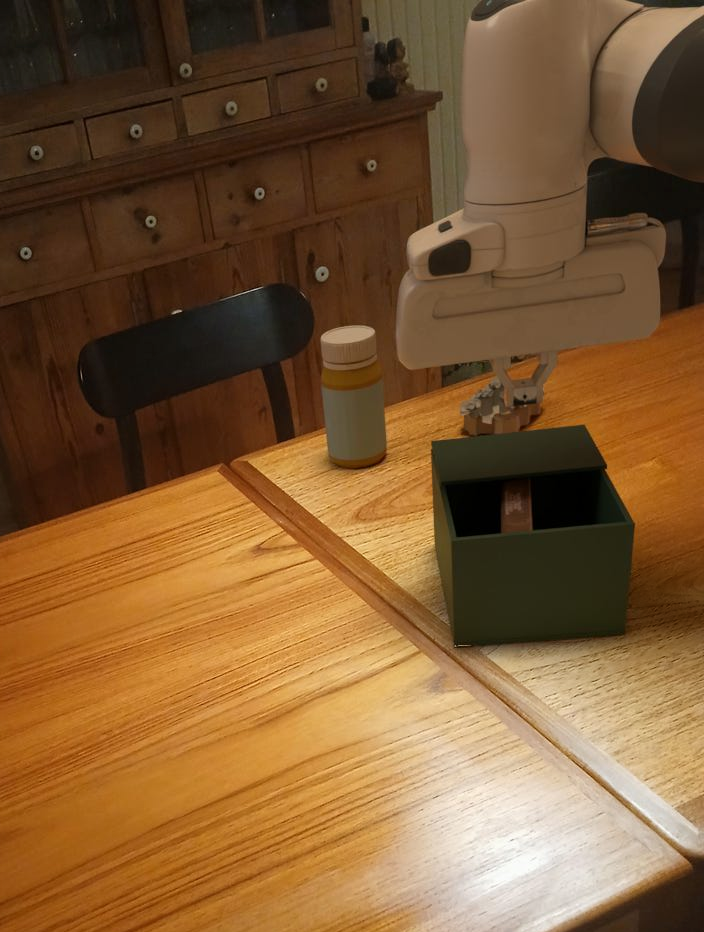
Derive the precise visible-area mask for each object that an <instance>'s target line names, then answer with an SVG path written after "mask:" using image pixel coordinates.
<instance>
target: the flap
mask: <svg viewBox="0 0 704 932" xmlns="http://www.w3.org/2000/svg"><path fill="white" fill-rule="evenodd" d="M430 445H431V449H432V450H433V454H434V459H435V463H436V468H437V472H438V477H439V481H440V486H445V485H455V484H465V483H475V482H485V481H494V480H504V479H514V478H524V477H534V476H544V475H554V474H563V473H573V472H583V471H593V470H603V469H605V470H607V469H608V464H607V462H606V460H605V458H604V457H603V455H602V454H601V451H600V450H599V448H598V446H597V443H595V441H594V439H593V437H592V435H591V432H589V429H588V428H587V426H586V424H576V425H567V426H559V427H548V428H540V429H531V430H521V431H520V430H519V432H511V433H502V434H485V435H484V434H482V435H477V436H474V435H473V436H466V437H458V438H457V437H455V438H448V439H439V440H438V439H437V440H431V441H430Z"/></svg>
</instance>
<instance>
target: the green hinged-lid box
mask: <svg viewBox="0 0 704 932" xmlns="http://www.w3.org/2000/svg"><path fill="white" fill-rule="evenodd" d="M430 459H431V461H430V462H431V464H430V465H431V483H432V484H431V488H432V512H433V515H432V516H433V536H434V537H433V538H434V539H433V540H434V549H435V554H436V559H437V565H438V570H439V575H440V581H441V585H442V592H443V594H444V595H443V596H444V597H443V598H444V601H445V602H444V603H445V606H446V611H447V617H448V623H449V628H450V633H451V632H452V634H451V638H452V637H453V639H452V643H453V642H454V644H453V647H454V646H455V645H456V646H458V645H471V646H470V647H479V646H480V647H482V646H494V645H505V644H506V645H507V644H519V643H521V644H522V643H533V642H547V641H548V642H549V641H558V640H560V641H561V640H572V639H573V640H574V639H584V638H599V637H612V636H623V635H624V636H625V635H626V627H627V617H628V605H629V595H630V583H631V573H632V564H633V563H632V561H633V551H634V539H635V529H636V523H635V522H634V520H633V518H632V516H631V514H630V512H629V510H628V509H627V507H626V505H625V503H624V502H623V500H622V498H621V495H620V494H619V492H618V490H617V488H616V487H615V485H614V483H613V481H612V480H611V478H610V476H609V474H608V473H607V470H606V469H603V470H593V471H583V472H573V473H563V474H554V475H544V476H534V477H530V481H531V499H532V500H531V501H532V518H533V530H532V531H522V532H511V533H501V485H502V482H503V481H506V480H513V479H504V480H494V481H485V482H475V483H465V484H455V485H445V486H440V481H439V477H438V472H437V468H436V463H435V459H434V454H433V450H432V448H430ZM524 478H527V477H524ZM514 479H523V478H514ZM475 645H476V646H475Z"/></svg>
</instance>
